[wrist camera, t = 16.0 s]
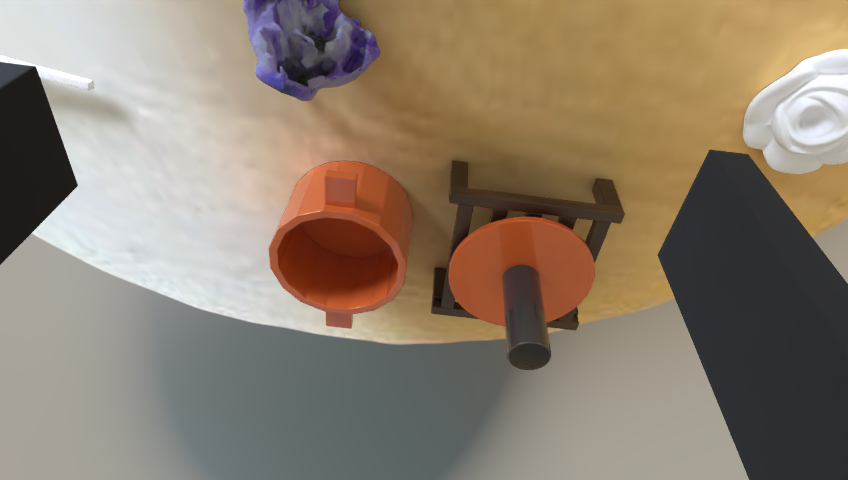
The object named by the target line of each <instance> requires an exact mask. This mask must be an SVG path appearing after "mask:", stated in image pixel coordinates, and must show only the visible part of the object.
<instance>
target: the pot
mask: <svg viewBox="0 0 848 480" xmlns="http://www.w3.org/2000/svg"><path fill="white" fill-rule="evenodd" d="M412 220H413V213H412V207H411V203H410V201H409V198H408V196H407V194H406V193H405V191H404V190H403V188H402V187H401V186H400V185H399V184H398V182H396V181H395V180H394V179H393V178H392V177H391V176H389V175H388V174H386V173H385V172H383V171H381V170H380V169H378V168H375V167H373V166H371V165H367V164H364V163H360V162H354V161H336V162H330V163H326V164H323V165H320V166H318V167H316V168H314V169H312V170H311V171H309V172H308V173H306V174H305V175H304V176H303V177H302V178H301V179H300V181H299V182H298V183H297V185H296V187H295V189H294V191H293V193H292V195H291V198H290V200H289V202H288V204H287V207H286V209H285V211H284V214H283V216H282V218H281V220H280V223H279V225H278V227H277V230H276V232H275V234H274V237H273V239H272V241H271V244H270V246H269V256H270V266H271V269H272V271H273V273H274V274H275V276H276V277H277V279H278V281H279V282H280V284H281V286H282V287H283V288H284V289H285V290H287V291H288V292H289V293H290V294H292V295H293V296H294V297H295V298H297V299H298V300H299V301H301V302H303V303H305V304H308V305H310V306H313V307H315V308H318V309H320V310H323V311H325V312H326V326H333V327H342V328H350V329H351V328H352V323H353V314H356V313H362V312H368V311H373V310H376V309H377V308H379V307H381V306H383V305H385V304H387V303H388V302H390V301H392V300H393V299H394V297H395V296H396V295H397V293H398V292H399V291H400V289H401V288H402V287H403V285H404V283H405V277H406V269H407V261H408V253H409V245H410V237H411V229H412Z"/></svg>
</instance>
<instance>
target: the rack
mask: <svg viewBox="0 0 848 480" xmlns="http://www.w3.org/2000/svg"><path fill="white" fill-rule="evenodd" d="M592 192H593V195H594V198H595V202H596V204H593V203H584V202H576V201H568V200H560V199H551V198H543V197H535V196H527V195H518V194H510V193H502V192H494V191H486V190H477V189H469V188H468V163H467V162H459V161H452V165H451V171H450V188H449V202H450V203H455V204H458V209H457V214H456V220H455V226H454V231H453V237H452V243H451V248H450V254H449V260H448V265H447V270H446V269H438V268H435V272H434V279H433V294H432V308H431V313H432V314H440V315H449V316H457V317H466V318H475V319H479V318H477V317H475V316H474V315H472V314H470V313H469V312H468V311H466V310H465V309H464V308H463V307H462V306H461V305H460V304H459V303H458V302H455V297H454V296H453V293H452V291H451V289H450V285H449V278H448V272H449V264H450V261H451V258H452V256H453V253H454V251H455V250H456V248H457V247H458V245H459V244H460V243H461V242H462V241H463V240H464V239H465V238H466V237H467V236H468V232H469V227H470V222H471V217H472V212H473V207H474V206H480V207H488V208H492V211H491V216H490V220H489V223H492V222H494V221H497V220H501V219H505V218H506V217H507V213H508V210H513V211H521V212H526V214H525V217H526V216H527V217H539V218H542V214H546V215H554V216H560V217H559V220H558V223H560V224H563V225H565V226H567V227H568V228H570V229H572V230H573V228H574V225H575V222H576V219H577V218H579V219H587V220H593V222H592V225H591V228H590V230H589V233H588V236H587V238H586V241H585V242H586V244H587V245H588V247H589V249H590V251H591V253H592V256H593V260H594V264H595V261H596V259H597V256H598V254H599V251H600V249H601V246H602V244H603V241H604V239H605V236H606V234H607V231H608V229H609V226H610V224H611V222H612V223H621V222H622V220H623V217H624V215H625V213H624V211H623V208H622V206H621V203H620V200H619V197H618V195H617V192H616V189H615V187H614V184H613V181H612V180H606V179H598V178H597V179H596V182H595V185H594V188H593V190H592ZM577 315H578V309H577V307H576V308H574V309H573V310H572V311H570V312H569V313H567V314H566V315H564V316H562V317H560V318H558V319H555V320H553V321H550V322H547V327H552V328H560V329H569V330H576V329H577V327H578V325H579V321H578V317H577Z"/></svg>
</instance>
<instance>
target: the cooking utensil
mask: <svg viewBox="0 0 848 480" xmlns="http://www.w3.org/2000/svg"><path fill="white" fill-rule="evenodd" d="M0 62H6V63H14V64H22V65H30V66H36V68H37V71H38V74H39V77H40V78H43V79H47V80H51V81H55V82H59V83H63V84H67V85H71V86H75V87H79V88H83V89H87V90H91V89H94V82H93V80H89V79H86V78H82V77H78V76H75V75H71V74H67V73H63V72H60V71H56V70H52V69H49V68H45V67H41V66H38V65H34V64H30V63H27V62H23V61H19V60H16V59H12V58H8V57H5V56H1V55H0Z"/></svg>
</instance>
